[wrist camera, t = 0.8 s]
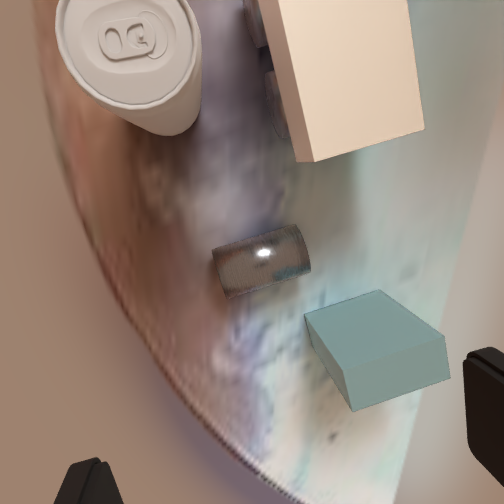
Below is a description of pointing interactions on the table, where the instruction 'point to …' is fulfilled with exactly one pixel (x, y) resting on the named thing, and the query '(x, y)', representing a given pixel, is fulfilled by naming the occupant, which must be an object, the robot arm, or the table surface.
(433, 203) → the table surface
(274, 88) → the cylinder
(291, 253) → the roller
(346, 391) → the block
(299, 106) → the slab
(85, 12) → the beverage can
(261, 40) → the cylinder
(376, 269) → the table surface
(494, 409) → the robot arm
